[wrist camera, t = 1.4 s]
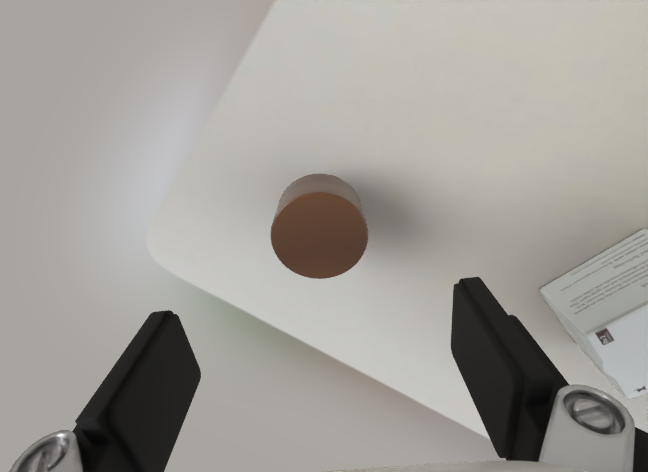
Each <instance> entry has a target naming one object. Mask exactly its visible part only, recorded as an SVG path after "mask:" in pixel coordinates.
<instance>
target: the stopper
mask: <svg viewBox="0 0 648 472" xmlns="http://www.w3.org/2000/svg"><path fill="white" fill-rule="evenodd" d="M367 241H368V229H367V224H366V221H365V217H364V213H363V209H362V206H361V202H360V199H359V197H358V195H357V194H356V192H355V190H354V189H353V188H352V187H351V186H350V185H349V184H348V183H346V182H345V181H343V180H342V179H340V178H338V177H335V176H332V175H327V174H312V175H308V176H305V177H302V178H300V179H298V180H296V181H295V182H293V183H292V184H291V185H290V186H289V187H288V188H287V189H286V190H285V191H284V193H283V194H282V196H281V199H280V201H279V204H278V207H277V211H276V214H275V217H274V220H273V224H272V227H271V242H272V246H273V249H274V251H275V254H276V255H277V257H278V258H279V260H280V261H281V262H282V263H283V264H284V265H285V266H286V267H287V268H289V269H290V270H291V271H293V272H295V273H297V274H299V275H302V276H305V277H309V278H318V279H322V278H330V277H334V276H338V275H340V274H342V273H344V272H346V271H348V270H349V269H351V268H352V267H353V266H354V265H355V264H356V263H357V262H358V261H359V260H360V258H361V257H362V255H363V254H364V251H365V249H366V246H367Z"/></svg>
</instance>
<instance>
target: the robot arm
mask: <svg viewBox="0 0 648 472" xmlns="http://www.w3.org/2000/svg"><path fill="white" fill-rule="evenodd" d="M451 350H452V354H453V357H454V359H455V361H456V364H457V366H458V368H459V370H460V372H461V375H462V377H463V379H464V381H465V384H466V386H467V388H468V390H469V392H470V395H471V397H472V399H473V401H474V404H475V406H476V408H477V410H478V412H479V415H480V417H481V419H482V421H483V424H484V426H485V428H486V430H487V432H488V435H489V437H490V439H491V441H492V444H493V446H494V448H495V450H496V452H497V454H498V456H499V457H500V458H506V460H507V461H477V462H458V463H440V464H424V465H412V466H411V465H410V466H398V467H397V466H396V467H384V468H370V469H355V470H341V471H329V472H648V433H647V432H644V431H642V430H640V429H638V428H636V427H635V425H634V420H633V418H632V416H631V415H630V413H629V411H628V410H627V409H626V408H625V407H624V406H623V405H622V404H621V403H620V402H619V401H618V400H616V399H615V398H613V397H612V396H610V395H609V394H607V393H605V392H603V391H601V390H599V389H596V388H593V387H589V386H586V385H569V384H568V382H567V381H566V380H565V379H564V377H563V376H562V375H561V373H560V372H559V371H558V370H557V368H556V367H555V366H554V364H553V363H552V362H551V361H550V359H549V358H548V357H547V355H546V354H545V353H544V351H543V350H542V349H541V348H540V346H539V345H538V344H537V342H536V341H535V340H534V339H533V337H532V336H531V335H530V333H529V332H528V331H527V330H526V328H525V327H524V326H523V324H522V323H521V322H520V321H519V319H518V318H517V317H516V316H514V315H507V313H506V312H505V311H504V309H503V308H502V307H501V305H500V304H499V303H498V301H497V300H496V299H495V297H494V296H493V295H492V293H491V292H490V291H489V289H488V288H487V286H486V285H485V284H484V282H483V281H482V280H481V279H480V278H479V277H473V278H464V279H460V281H459V284H454V291H453V312H452V333H451ZM200 377H201V372H200V368H199V366H198V364H197V361H196V359H195V356H194V353H193V351H192V348H191V346H190V343H189V341H188V339H187V336H186V334H185V331H184V329H183V326H182V324H181V322H180V319H179V317H178V315H177V314H173V312H172V311H159V312H153V313H151V314H150V315H149V317H148V318H147V320H146V321H145V323H144V324H143V325H142V327H141V328H140V330H139V331H138V333H137V334H136V336H135V337H134V338H133V340H132V341H131V343H130V344H129V345H128V347H127V348H126V350H125V351H124V353H123V354H122V355H121V357H120V358H119V360H118V361H117V362H116V364H115V365H114V367H113V368H112V370H111V371H110V372H109V374H108V375H107V377H106V378H105V380H104V381H103V382H102V384H101V385H100V387H99V388H98V390H97V391H96V392H95V394H94V395H93V397H92V398H91V400H90V401H89V403H88V404H87V405H86V407H85V408H84V410H83V411H82V412H81V414H80V415H79V417H78V418H77V419H76V421H75V422H76V423H77V425H76V427H75V429H74V430H73V431H72V432H71V431H69V430H61V431H57V432H54V433H51V434H49V435H47V436H45V437H43V438H41V439H40V440H38V441H37V442H35V443H34V444H32V445H31V446H30V447H29V448H28V449H27V450H25V451H24V452H23V453H22V454H21V456H20V457H19V458H18V459H17V460H16V461H15V463H14V465H13V466H12V468H11V470H10V472H164V470H165V467H166V465H167V462H168V460H169V457H170V455H171V452H172V450H173V447H174V445H175V442H176V440H177V437H178V435H179V432H180V429H181V427H182V424H183V422H184V419H185V417H186V414H187V412H188V409H189V407H190V404H191V402H192V399H193V397H194V394H195V392H196V389H197V386H198V383H199V381H200Z"/></svg>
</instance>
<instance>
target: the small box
mask: <svg viewBox="0 0 648 472" xmlns="http://www.w3.org/2000/svg"><path fill="white" fill-rule="evenodd" d="M539 291H540V293H541V294H542V296H543V297H544V299H545V300H546V302H547V303H548V305H549V306H550V307H551V309H552V310H553V312H554V313H555V314H556V316H557V317H558V319H559V320H560V321H561V323H562V324H563V326H564V327H565V328H566V330H567V331H568V333H569V334H570V335H571V337H572V338H573V339H574V341H575V342H576V343H577V345H578V346H579V347H580V349H581V350H582V351H583V352H584V353H585V354H586V355H587V356H588V357H589V358H590V360H591V361H592V362H593V363H594V364H595V365H596V366H597V367H598V369H599V370H600V371H601V372H602V373H603V374H604V375H605V376H606V378H607V379H608V380H609V381H610V382H611V383H612V384H613V386H614V387H615V388H616V389H617V390H618V391H619V392H620V393H621V394H622V395H623V396H624V397H625V398H626V399H633V398H636V397H639V396H641V395H644V394H646V393H648V229H642V230H641V231H639V232H637V233H635V234H633V235H632V236H630V237H628V238H626V239H625V240H623V241H621V242H619V243H618V244H616V245H614V246H612V247H611V248H609V249H607V250H606V251H604V252H602V253H600V254H599V255H597V256H595V257H594V258H592V259H590V260H588V261H586V262H585V263H583V264H581V265H580V266H578V267H576V268H574V269H573V270H571V271H569V272H567V273H566V274H564V275H562V276H561V277H559V278H557V279H555V280H553V281H552V282H550V283H548V284H547V285H545V286H544V287H542V288H541V289H540V290H539Z"/></svg>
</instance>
